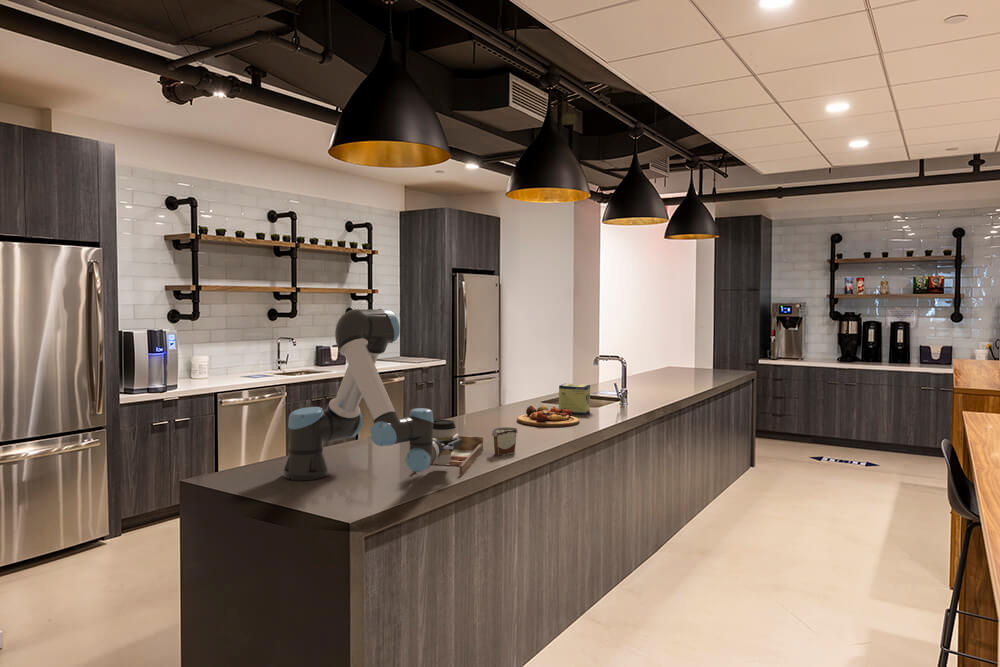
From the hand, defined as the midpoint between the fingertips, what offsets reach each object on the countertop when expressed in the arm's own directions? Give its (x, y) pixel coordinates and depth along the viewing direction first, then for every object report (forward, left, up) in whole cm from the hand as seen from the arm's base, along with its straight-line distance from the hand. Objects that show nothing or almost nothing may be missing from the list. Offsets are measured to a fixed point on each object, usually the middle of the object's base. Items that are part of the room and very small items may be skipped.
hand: (444, 436), depth 252 cm
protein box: (+41, +133, -12) cm, 140 cm away
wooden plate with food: (+29, +103, -12) cm, 108 cm away
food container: (+17, +27, -12) cm, 34 cm away
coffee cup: (0, -5, -9) cm, 10 cm away
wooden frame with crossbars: (0, +8, -11) cm, 14 cm away
